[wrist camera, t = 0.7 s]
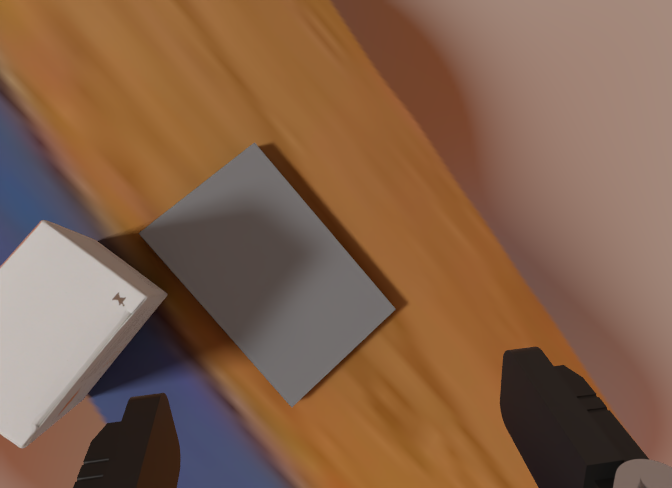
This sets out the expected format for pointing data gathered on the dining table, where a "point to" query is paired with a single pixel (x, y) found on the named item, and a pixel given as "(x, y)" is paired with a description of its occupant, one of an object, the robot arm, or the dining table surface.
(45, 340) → the small box
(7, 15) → the dining table surface
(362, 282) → the slate tile
